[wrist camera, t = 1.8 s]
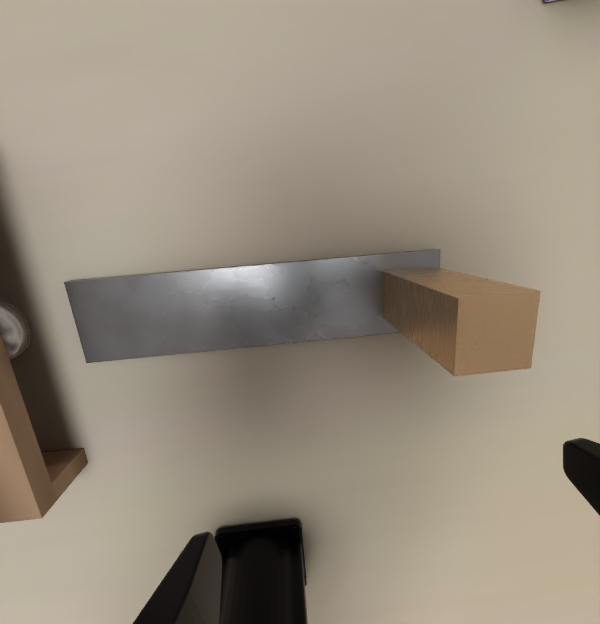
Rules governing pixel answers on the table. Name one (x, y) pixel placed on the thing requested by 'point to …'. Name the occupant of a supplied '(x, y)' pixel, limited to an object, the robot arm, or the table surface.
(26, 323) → the steel puck
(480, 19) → the table surface
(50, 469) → the walnut plinth
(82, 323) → the try square
